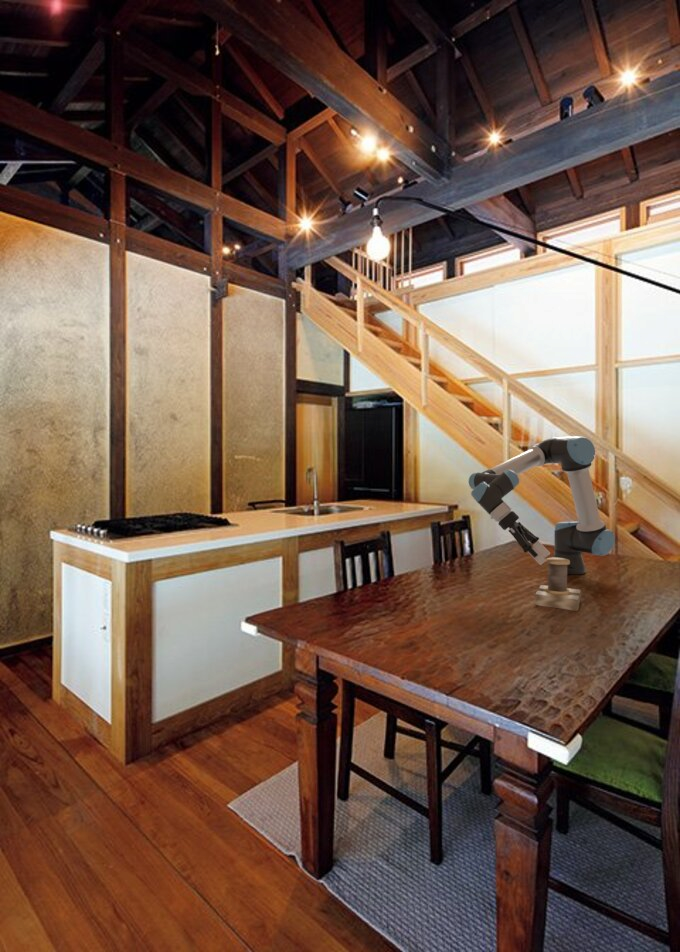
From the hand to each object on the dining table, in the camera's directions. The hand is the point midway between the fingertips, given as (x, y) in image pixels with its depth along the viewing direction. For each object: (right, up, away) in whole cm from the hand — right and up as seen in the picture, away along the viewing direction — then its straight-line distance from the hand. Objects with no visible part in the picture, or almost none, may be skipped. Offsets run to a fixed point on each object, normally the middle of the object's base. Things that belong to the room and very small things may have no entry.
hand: (545, 559), depth 185 cm
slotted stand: (+4, -16, -1) cm, 16 cm away
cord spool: (+4, -12, -1) cm, 13 cm away
